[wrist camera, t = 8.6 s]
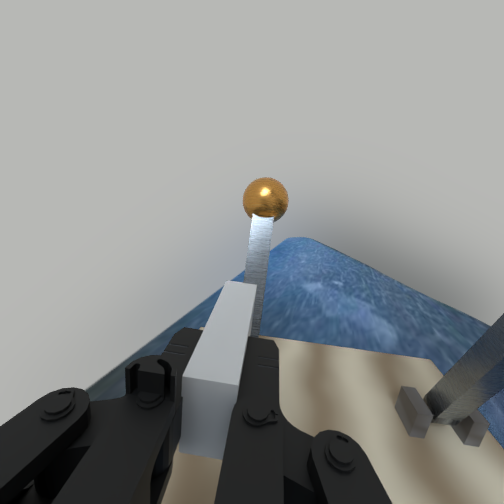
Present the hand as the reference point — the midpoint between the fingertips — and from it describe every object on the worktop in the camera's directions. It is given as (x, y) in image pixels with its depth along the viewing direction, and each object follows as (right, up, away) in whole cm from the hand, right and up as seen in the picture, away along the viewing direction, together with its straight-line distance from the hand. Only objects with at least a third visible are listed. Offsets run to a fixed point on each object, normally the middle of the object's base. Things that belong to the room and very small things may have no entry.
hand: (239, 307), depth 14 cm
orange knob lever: (0, -6, +6) cm, 9 cm away
